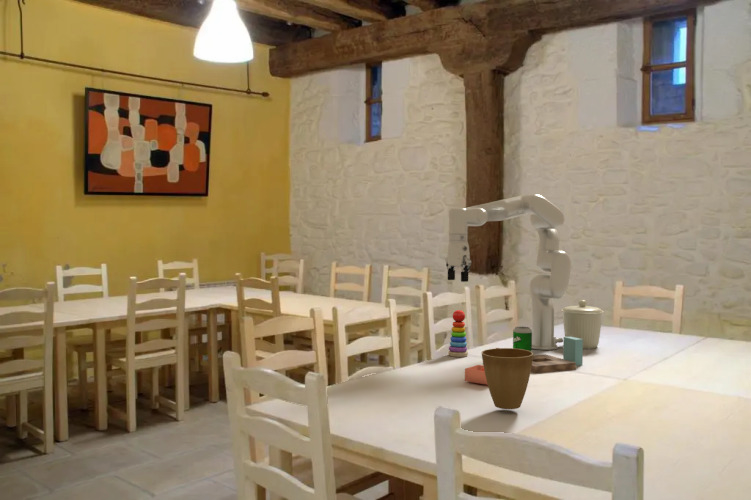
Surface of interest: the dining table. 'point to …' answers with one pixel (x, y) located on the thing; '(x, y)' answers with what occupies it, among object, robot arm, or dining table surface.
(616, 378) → the dining table surface
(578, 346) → the teal block
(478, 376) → the pottery
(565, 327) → the canister
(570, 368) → the walnut board
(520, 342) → the soda can
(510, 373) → the plant pot
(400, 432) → the dining table surface
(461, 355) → the stacking toy
